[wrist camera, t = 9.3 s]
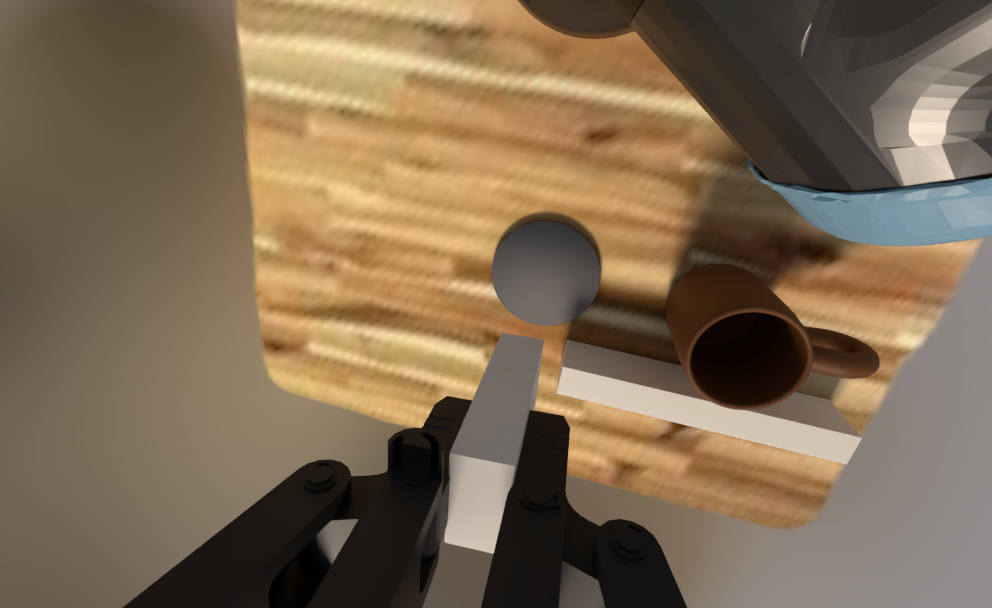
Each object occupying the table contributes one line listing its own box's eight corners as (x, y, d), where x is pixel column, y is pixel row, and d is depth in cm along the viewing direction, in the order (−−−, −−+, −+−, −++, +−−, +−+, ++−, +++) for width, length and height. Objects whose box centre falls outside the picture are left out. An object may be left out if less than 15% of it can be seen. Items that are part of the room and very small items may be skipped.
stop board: (566, 339, 41) (562, 366, 36) (830, 400, 38) (862, 437, 34) (560, 363, 42) (556, 393, 37) (817, 424, 39) (846, 464, 35)
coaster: (502, 211, 38) (500, 212, 37) (612, 233, 37) (612, 234, 36) (486, 310, 42) (484, 312, 41) (586, 333, 40) (586, 336, 40)
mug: (840, 269, 35) (921, 318, 26) (812, 359, 37) (876, 431, 29) (671, 256, 37) (694, 298, 28) (657, 343, 40) (673, 404, 31)
